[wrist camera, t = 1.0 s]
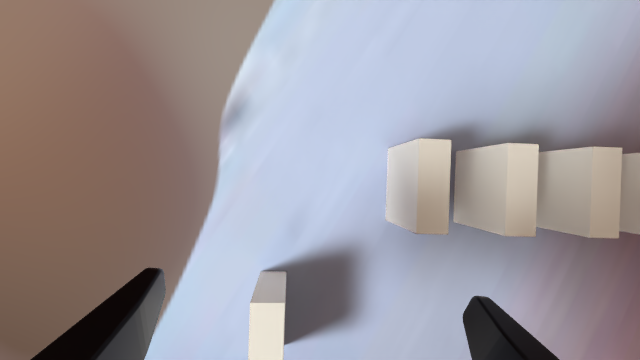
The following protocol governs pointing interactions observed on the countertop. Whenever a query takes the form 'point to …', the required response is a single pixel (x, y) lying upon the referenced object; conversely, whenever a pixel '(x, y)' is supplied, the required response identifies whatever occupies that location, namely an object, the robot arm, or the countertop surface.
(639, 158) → the domino
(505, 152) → the domino
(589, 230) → the domino
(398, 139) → the countertop surface
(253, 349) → the domino
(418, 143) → the domino
